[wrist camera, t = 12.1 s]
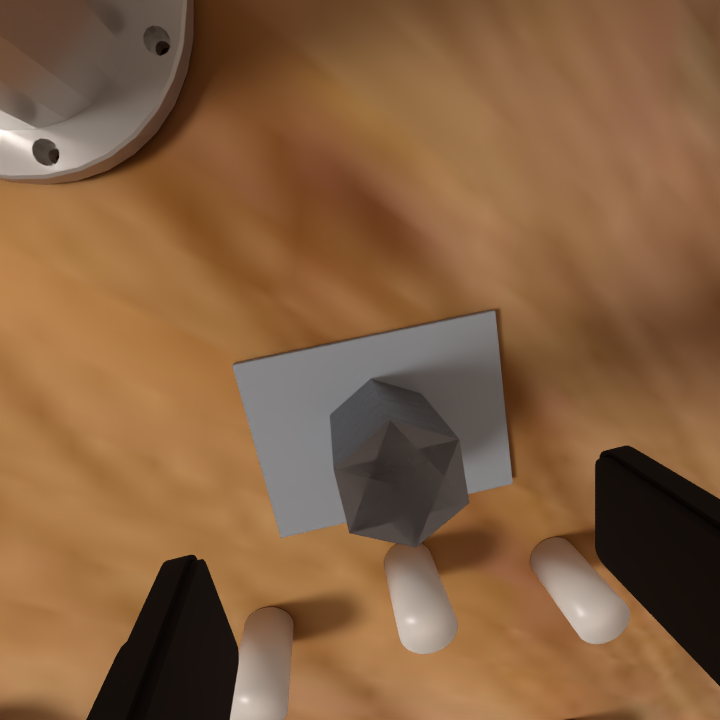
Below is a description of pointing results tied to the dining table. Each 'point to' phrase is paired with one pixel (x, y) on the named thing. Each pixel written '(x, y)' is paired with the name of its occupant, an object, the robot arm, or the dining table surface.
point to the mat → (343, 378)
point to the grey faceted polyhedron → (395, 464)
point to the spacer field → (422, 619)
